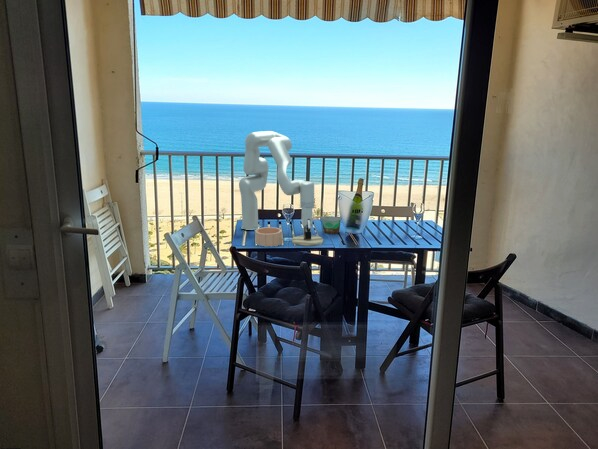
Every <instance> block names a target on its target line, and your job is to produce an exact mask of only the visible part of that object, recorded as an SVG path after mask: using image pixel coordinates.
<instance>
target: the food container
mask: <svg viewBox="0 0 598 449" xmlns="http://www.w3.org/2000/svg"><path fill="white" fill-rule="evenodd" d="M320 220H321V222H322V230H323V231H322V232H323V233H324V234H327V235H337V234H339V233H340V229H341V220H343V218H342V215H339V216H333V215H330V216H329V215H328V216H323V215H321V217H320Z"/></svg>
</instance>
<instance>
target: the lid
mask: <svg viewBox="0 0 598 449" xmlns="http://www.w3.org/2000/svg"><path fill="white" fill-rule="evenodd" d="M305 232H306V230H304V229H303V234H301V235H297V236H294V237H292V238H291V243H292V244H294V245H296V246H299V247H315V246H319V245H322V244H323V243H324V238H323V237H322V236H319V235H314V234H311V239H305Z"/></svg>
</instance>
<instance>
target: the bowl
mask: <svg viewBox="0 0 598 449" xmlns="http://www.w3.org/2000/svg"><path fill="white" fill-rule="evenodd" d="M254 234H255V235H254V236H255V239H254V241H255V242H256V243H255V242H254V243H255V245H256V244H258V245H262V246H275V247H278V245H279V246H281V245H282V244H283V230H282V229H281V228H279V227H272V226H268V227H267V226H266V227H265V226H263V227H261V228H259V229H257V230H254Z"/></svg>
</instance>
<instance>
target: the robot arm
mask: <svg viewBox="0 0 598 449" xmlns="http://www.w3.org/2000/svg"><path fill="white" fill-rule="evenodd" d="M244 140H245V141H244V146H245V147H244V149H245V150H244V160H243V172H244V174H246V176H244V177H242V178H241V179H240V180H239V181H238V188H239V191H240V196H241V198H240V200H241V201H240V202H241V219H242V220H241V221H242V222H241V223H242V224H241V226H242V227H241V228H242V229H246V230H253V229H258V227H259V228H260V227H261V228H262V226H261V225H260V224H259V208H258V204H259V203H258V197H257V195H256V193H255V192H260V191H263V190H264V189H265V188H266V186H267V182H268V174H269V163H268V162H269V161H268V160H266V158H264V157H260V156H261V150H260V148H263V147H268V149H269V152H270V154H271V155H272V158H273V160H274V162H275V164H276V166H277V171H276V175H277V176H276V179H277V183H278V185H279V187H280V189H281V191H282V192H283V194H284V195H286V196H293V195H299V198H300V200H299V201H300V202H299V204H300V206H299V208H301V221H300V222H301V223H300V224H301V225H302V227H303V231H304V230H306V232H305V239H311V235H312V227H313V214H314V213H313V209H314V208H315V183H314V182H313V181H310V180H309V181H307V180H303V179H294V180H290V179H289V176H288V173H287V169H288V167H289V166H290V165H292V163H293V160H292V157H291V155H290V153H289V151H291V149H292V145H293V143H292V141H291V139H290V138H289V137H287V136H285V135H284V134H282V133H281V134H280V133H279V132H275V131H274V130H265V131H254V132H250V133H249V134H247V136H246V138H245V139H244ZM247 175H249V176H247Z"/></svg>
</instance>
